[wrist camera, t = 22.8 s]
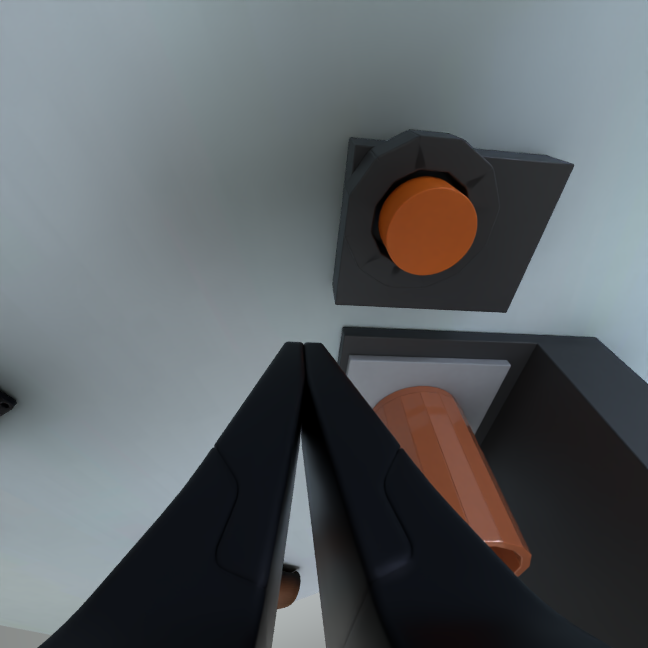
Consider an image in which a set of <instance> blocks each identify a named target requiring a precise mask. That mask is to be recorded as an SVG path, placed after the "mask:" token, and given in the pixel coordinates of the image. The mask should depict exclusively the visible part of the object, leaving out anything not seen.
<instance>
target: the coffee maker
mask: <svg viewBox="0 0 648 648" xmlns="http://www.w3.org/2000/svg"><path fill="white" fill-rule="evenodd" d="M338 365H339V366H340V367H341V369H342V370H343V371H344V373H345V374H346V375H347V376H348V378H349V379H350V380H351V382H352V383H353V384H354V386H355V387H356V388H357V389H358V391H359V392H360V393H361V395H362V396H363V397H364V399H365V400H366V401H367V402H368V404H369V405H370V406H371V408H372V409H373V408H374V407H375V405H376V404H377V403H378V402H379V401H381V400H382V399H383V398H385V397H386V396H388V395H389V394H391V393H394V392H396V391H398V390H401V389H405V388H409V387H414V386H431V387H437V388H440V389H443V390H445V391H447V392H449V393H450V394H451V395H453V396H454V397H455V399H456V400H457V402H458V404H459V406H460V407H461V409H462V410H463V413H464V415H465V417H466V419H467V421H468V423H469V425H470V427H471V429H472V431H473V433H474V436H475V438H476V440H477V442H478V444H479V446H480V448H481V450H482V452H483V454H484V456H485V459H486V461H487V463H488V465H489V467H490V469H491V471H492V473H493V475H494V477H495V479H496V482H497V484H498V486H499V488H500V490H501V492H502V494H503V496H504V498H505V500H506V502H507V505H508V507H509V509H510V511H511V513H512V515H513V517H514V519H515V521H516V523H517V525H518V528H519V530H520V532H521V534H522V536H523V538H524V540H525V542H526V544H527V546H528V548H529V551H530V553H531V555H532V557H531V562H530V567H529V568H527V569H526V570H525V571H524V572H523V573H522V574H521V575H520V576H519V577H518V578H519V579H520V580H521V581H522V582H523V583H524V584H525V585H526V586H527V587H528V588H529V589H530V590H531V591H532V592H534V593H535V594H536V595H537V596H538V597H539V598H540V599H541V600H542V601H544V602H545V603H546V604H547V605H549V606H550V607H551V608H552V609H554V610H555V611H556V612H557V613H559V614H560V615H561V616H563V617H564V618H566V619H567V620H568V621H570V622H571V623H573V624H574V625H576V626H578V627H579V628H581V629H582V630H584V631H586V632H588V633H589V634H591V635H593V636H594V637H596V638H598V639H599V640H601V641H603V642H604V643H606V644H608V645H610V646H611V647H613V648H648V384H647V383H646V382H645V381H644V380H643V379H642V378H641V377H640V376H638V375H637V374H636V373H635V372H634V371H633V370H632V369H631V368H630V367H628V366H627V365H626V364H625V363H624V362H623V361H622V360H621V359H619V358H618V357H617V356H616V355H615V354H614V353H613V352H612V351H611V350H609V349H608V348H607V347H606V346H605V345H604V344H603V343H602V342H600V341H599V340H598V339H597V338H593V337H569V336H545V335H520V334H496V333H472V332H448V331H424V330H400V329H375V328H351V327H343V330H342V337H341V343H340V350H339V357H338Z"/></svg>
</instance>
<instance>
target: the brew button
mask: <svg viewBox="0 0 648 648" xmlns="http://www.w3.org/2000/svg"><path fill="white" fill-rule="evenodd" d="M378 228H379V234H380V237H381V239H382V241H383V243H384V245H385V247H386V249H387V252H388V254H389V256H390V258H391V259H392V261H393V262H394V263H395V264H396V265H397V266H398V267H399V268H400V269H402V270H404V271H405V272H408V273H411V274H415V275H432V274H436V273H439V272H442V271H444V270H446V269H448V268H450V267H452V266H453V265H454V264H456V263H457V262H458V261H459V260H460V259H462V257H463V256H464V255H465V254H466V253H467V251H468V250H469V249H470V247H471V245H472V243H473V241H474V238H475V235H476V231H477V215H476V211H475V208H474V206H473V204H472V203H471V201H470V200H469V199H468V198H467V197H466V196H465V195H464V194H462V193H461V192H460V191H458V190H457V189H456V188H454V187H453V186H452V185H450V184H449V183H447V182H446V181H444V180H442V179H440V178H437V177H432V176H421V177H416V178H412V179H410V180H408V181H406V182H404V183H402V184H401V185H399V186H398V187H397V188H395V189H394V190H393V191H392V192H391V193H390V195H389V196H388V197H387V199H386V200H385V202H384V204H383V206H382V208H381V211H380V214H379V220H378Z"/></svg>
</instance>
